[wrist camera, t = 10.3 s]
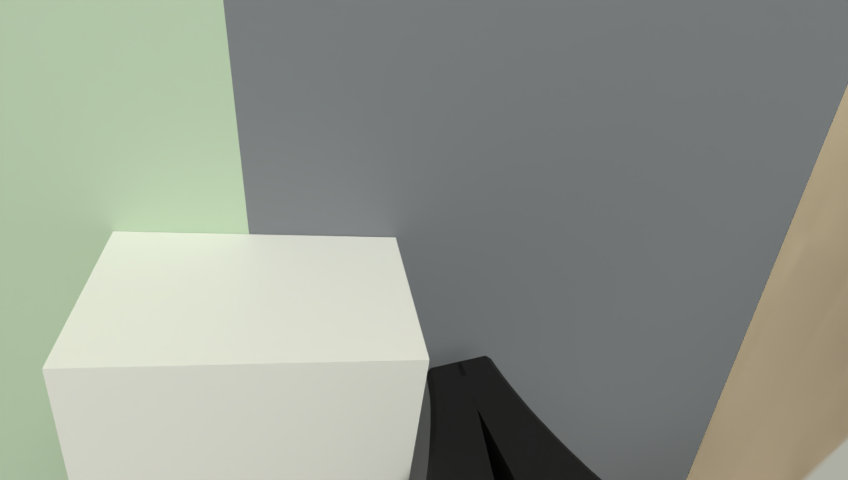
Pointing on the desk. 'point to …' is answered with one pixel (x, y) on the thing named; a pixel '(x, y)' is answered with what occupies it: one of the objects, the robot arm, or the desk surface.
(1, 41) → the green and grey board
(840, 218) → the desk surface
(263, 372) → the plug block
